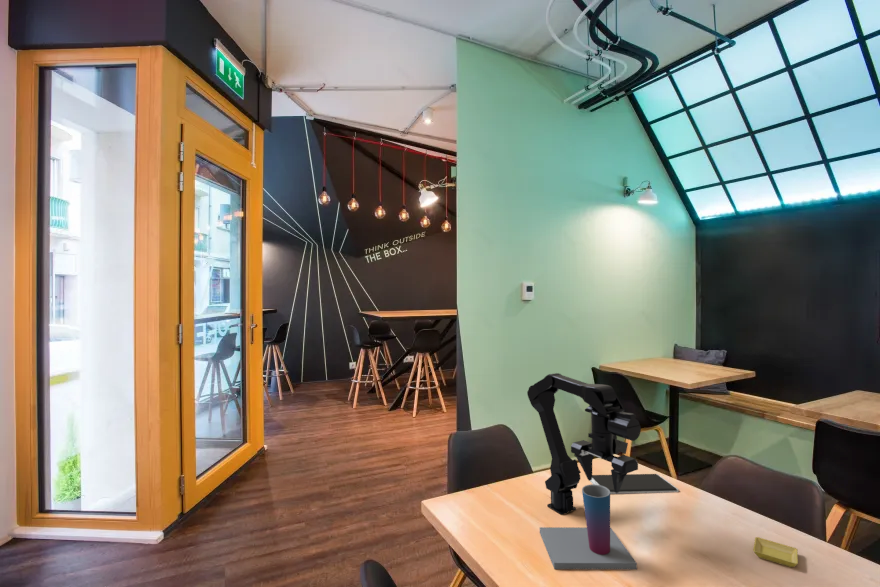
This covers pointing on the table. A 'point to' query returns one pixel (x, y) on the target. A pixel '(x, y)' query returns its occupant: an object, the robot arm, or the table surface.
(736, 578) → the table surface
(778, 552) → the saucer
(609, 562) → the board
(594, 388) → the robot arm
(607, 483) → the black tablet
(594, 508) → the cup
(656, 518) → the table surface
